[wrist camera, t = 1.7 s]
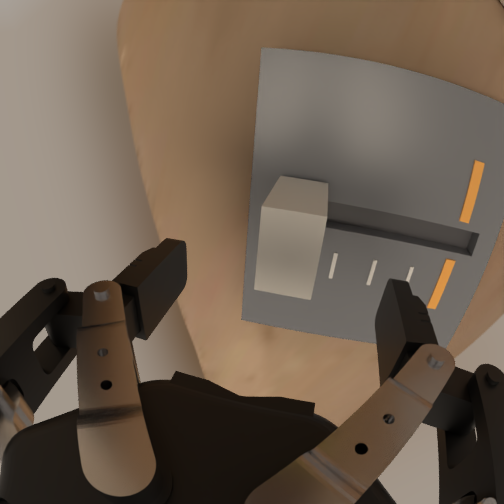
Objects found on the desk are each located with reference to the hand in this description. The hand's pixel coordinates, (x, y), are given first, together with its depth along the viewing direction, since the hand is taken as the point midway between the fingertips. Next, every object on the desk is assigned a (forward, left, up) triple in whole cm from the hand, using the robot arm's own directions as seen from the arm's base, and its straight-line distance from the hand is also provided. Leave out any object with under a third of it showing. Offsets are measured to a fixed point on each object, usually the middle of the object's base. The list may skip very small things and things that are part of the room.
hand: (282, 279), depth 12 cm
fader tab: (0, 0, -8) cm, 8 cm away
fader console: (0, +5, -10) cm, 11 cm away
